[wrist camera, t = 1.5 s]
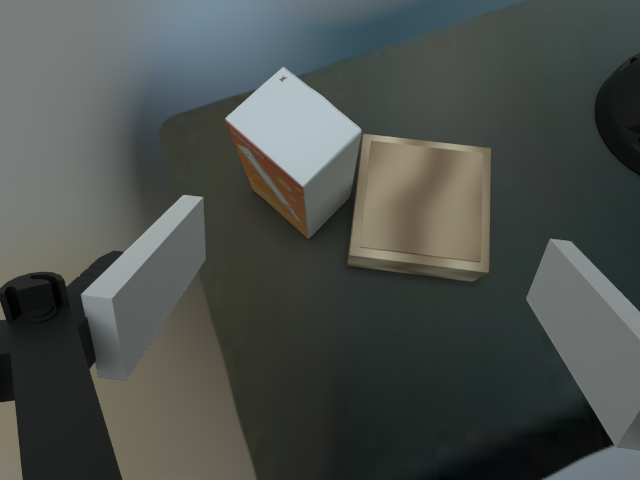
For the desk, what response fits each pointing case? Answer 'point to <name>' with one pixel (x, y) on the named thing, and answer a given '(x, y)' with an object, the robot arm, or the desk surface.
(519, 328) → the desk surface
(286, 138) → the small box
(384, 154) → the oak plinth
